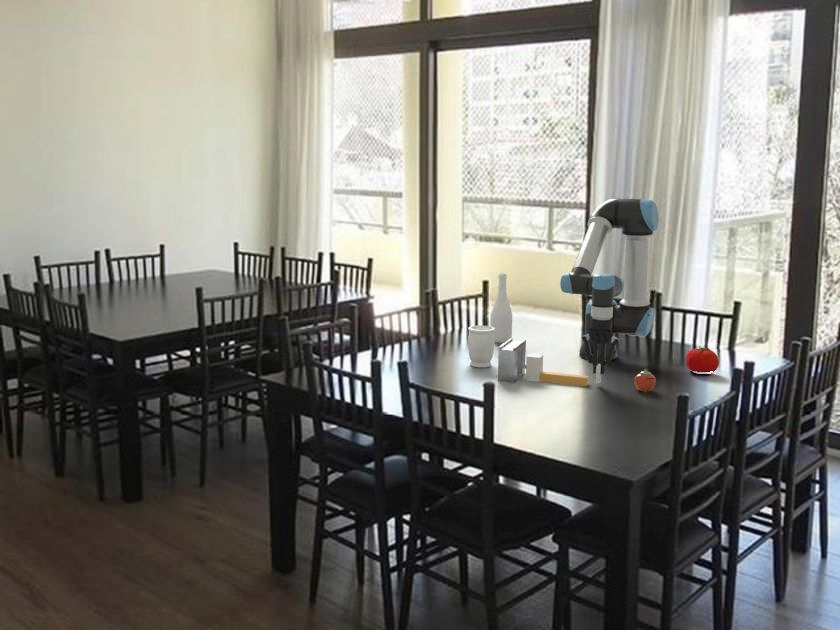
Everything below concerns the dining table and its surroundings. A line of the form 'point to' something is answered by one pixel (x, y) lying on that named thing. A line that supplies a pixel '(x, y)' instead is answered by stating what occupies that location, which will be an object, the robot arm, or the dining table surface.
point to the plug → (549, 373)
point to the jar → (481, 345)
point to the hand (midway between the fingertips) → (598, 382)
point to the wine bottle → (501, 313)
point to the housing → (511, 360)
